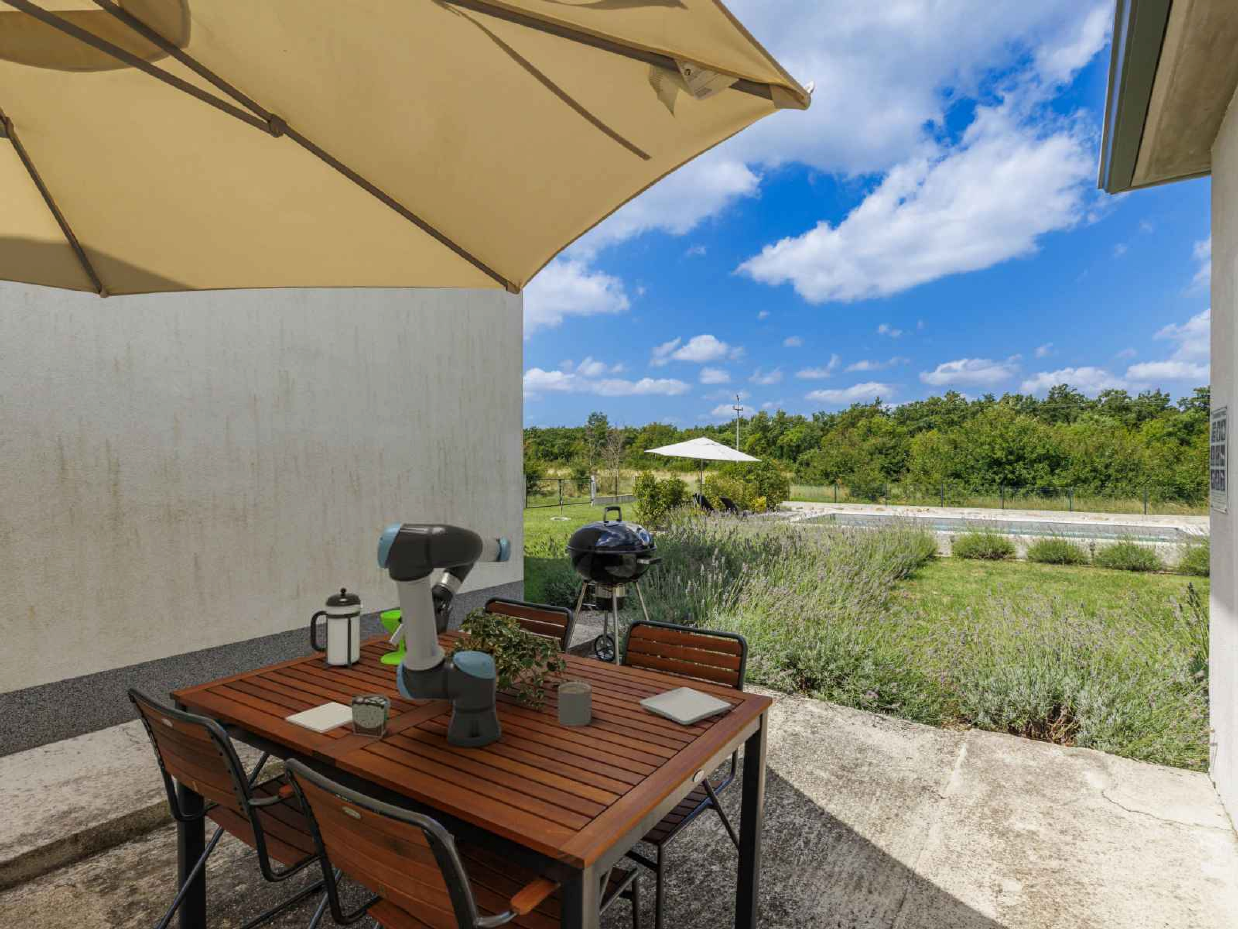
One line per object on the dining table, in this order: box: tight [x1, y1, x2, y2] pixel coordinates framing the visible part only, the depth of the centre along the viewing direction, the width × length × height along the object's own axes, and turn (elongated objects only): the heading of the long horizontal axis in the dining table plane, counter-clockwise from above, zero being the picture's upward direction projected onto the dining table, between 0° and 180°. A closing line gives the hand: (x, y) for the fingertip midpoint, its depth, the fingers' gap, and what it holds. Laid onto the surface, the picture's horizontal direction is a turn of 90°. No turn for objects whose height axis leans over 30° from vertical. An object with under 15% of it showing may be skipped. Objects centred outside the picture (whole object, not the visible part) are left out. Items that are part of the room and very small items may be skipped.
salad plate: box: [639, 686, 732, 726], centre depth 206 cm, size 21×21×3 cm
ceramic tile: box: [284, 701, 353, 734], centre depth 200 cm, size 18×16×1 cm
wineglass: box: [380, 609, 407, 665], centre depth 263 cm, size 16×16×18 cm
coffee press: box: [309, 587, 364, 670], centre depth 254 cm, size 17×16×30 cm
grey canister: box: [557, 681, 592, 728], centre depth 200 cm, size 13×10×10 cm
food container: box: [349, 693, 392, 739], centre depth 190 cm, size 12×6×10 cm, turn 74°
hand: (407, 647), depth 200 cm, fingers open, 13 cm apart
